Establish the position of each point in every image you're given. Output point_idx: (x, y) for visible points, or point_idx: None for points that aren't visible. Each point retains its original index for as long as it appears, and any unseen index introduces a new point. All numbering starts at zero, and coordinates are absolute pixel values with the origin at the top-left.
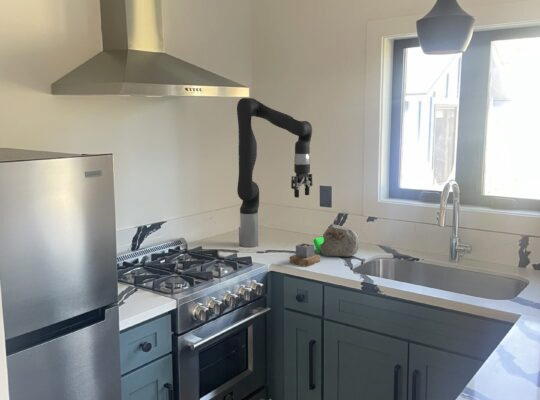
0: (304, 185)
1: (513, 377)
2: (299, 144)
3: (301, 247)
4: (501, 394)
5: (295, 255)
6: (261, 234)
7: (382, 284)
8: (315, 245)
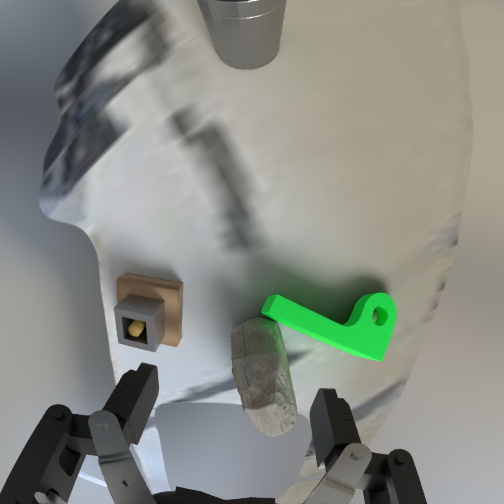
0: (334, 464)
1: None
2: None
3: (117, 326)
4: None
5: (135, 288)
6: (395, 28)
7: None
8: (269, 298)
